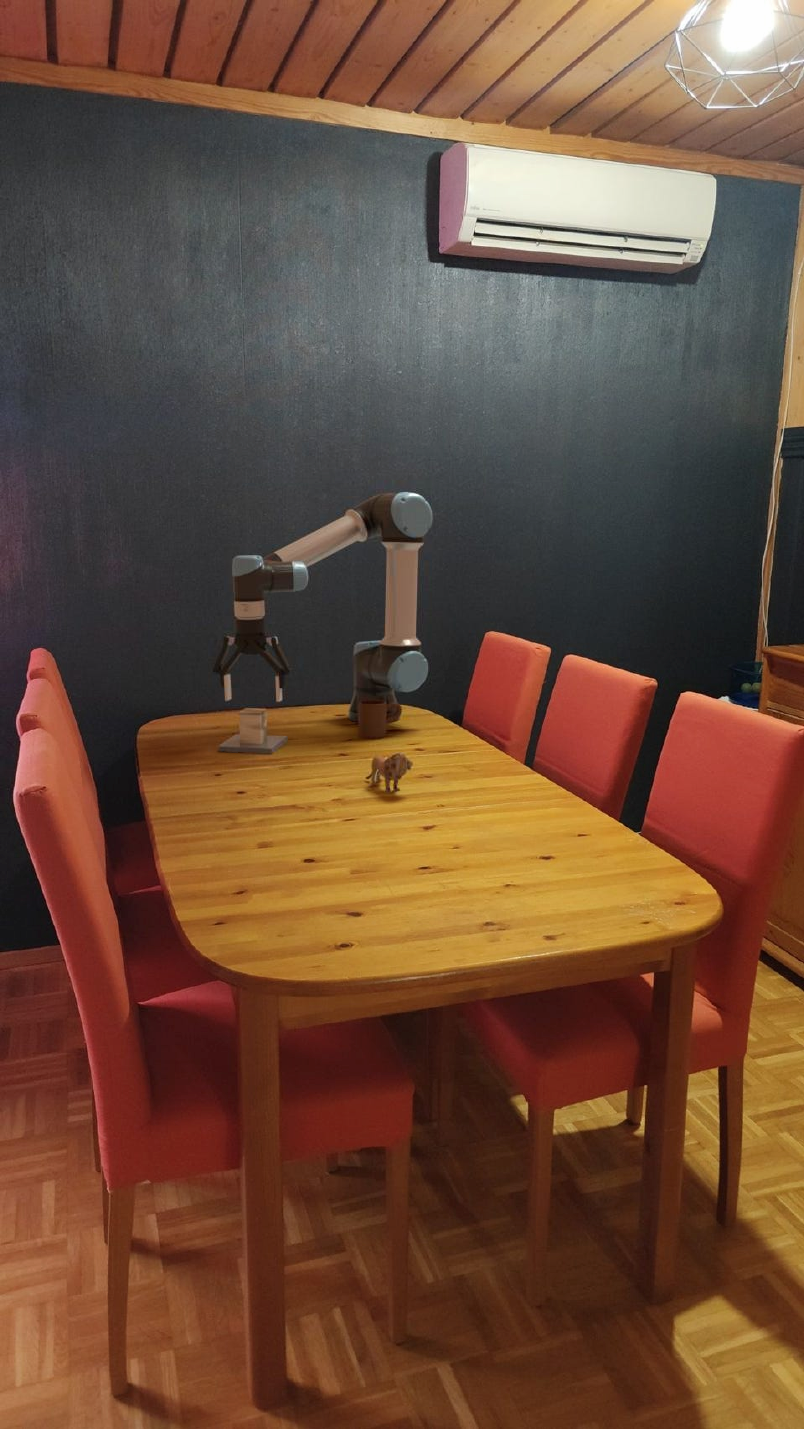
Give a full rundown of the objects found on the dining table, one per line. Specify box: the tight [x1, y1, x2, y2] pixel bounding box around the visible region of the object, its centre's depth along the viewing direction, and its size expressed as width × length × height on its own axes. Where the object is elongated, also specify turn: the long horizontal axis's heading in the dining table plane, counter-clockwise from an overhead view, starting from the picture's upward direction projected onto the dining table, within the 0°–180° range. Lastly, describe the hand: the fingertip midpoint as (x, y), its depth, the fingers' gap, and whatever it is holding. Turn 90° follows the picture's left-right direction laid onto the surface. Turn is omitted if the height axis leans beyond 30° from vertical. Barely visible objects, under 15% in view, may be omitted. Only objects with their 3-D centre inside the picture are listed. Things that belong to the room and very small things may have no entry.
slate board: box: [217, 733, 288, 755], centre depth 249 cm, size 14×14×1 cm
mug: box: [357, 700, 403, 740], centre depth 261 cm, size 12×8×9 cm, turn 102°
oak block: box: [238, 707, 268, 744], centre depth 248 cm, size 6×6×8 cm
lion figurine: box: [365, 752, 414, 794], centre depth 211 cm, size 15×5×9 cm, turn 39°
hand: (253, 700), depth 247 cm, fingers open, 13 cm apart
